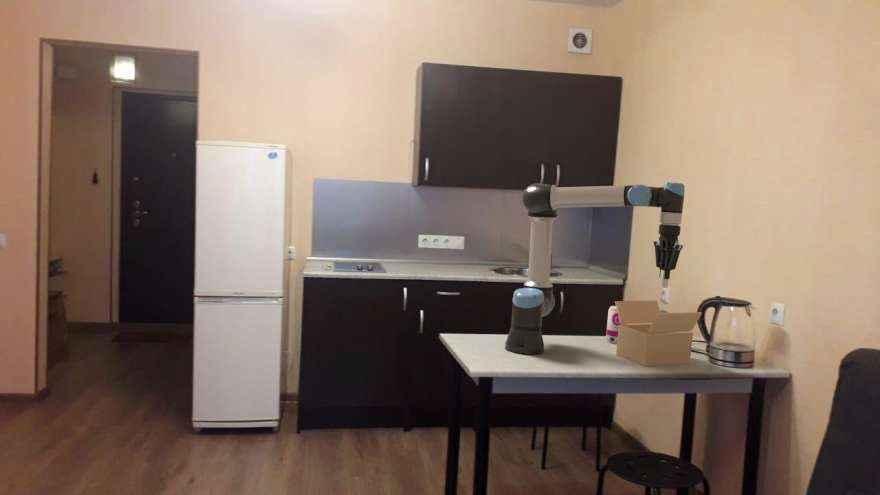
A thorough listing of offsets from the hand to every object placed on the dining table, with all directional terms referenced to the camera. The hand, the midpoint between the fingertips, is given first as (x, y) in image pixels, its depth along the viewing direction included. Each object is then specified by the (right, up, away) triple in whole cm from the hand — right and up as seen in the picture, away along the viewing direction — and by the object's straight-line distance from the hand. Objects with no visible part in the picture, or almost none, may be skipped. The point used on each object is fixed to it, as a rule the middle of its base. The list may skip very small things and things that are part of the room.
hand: (663, 287), depth 239 cm
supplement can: (-9, -26, +34) cm, 43 cm away
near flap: (+3, -13, -3) cm, 13 cm away
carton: (-2, -28, +7) cm, 29 cm away
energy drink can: (+10, -27, +34) cm, 44 cm away
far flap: (-4, -11, +15) cm, 19 cm away
